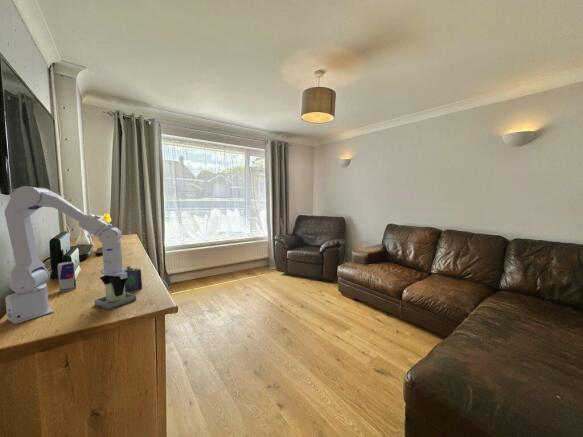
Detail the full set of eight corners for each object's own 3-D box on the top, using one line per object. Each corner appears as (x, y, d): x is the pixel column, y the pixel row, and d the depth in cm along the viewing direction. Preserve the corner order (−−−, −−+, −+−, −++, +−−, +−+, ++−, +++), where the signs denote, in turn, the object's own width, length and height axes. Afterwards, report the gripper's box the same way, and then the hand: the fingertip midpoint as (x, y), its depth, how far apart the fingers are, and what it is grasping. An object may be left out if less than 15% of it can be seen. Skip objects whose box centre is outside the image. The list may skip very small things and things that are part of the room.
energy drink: (72, 290, 104) (70, 264, 103) (57, 292, 102) (54, 265, 101) (78, 286, 109) (76, 261, 108) (63, 288, 107) (61, 262, 106)
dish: (108, 310, 85) (107, 304, 85) (94, 305, 89) (94, 300, 89) (136, 300, 93) (136, 295, 93) (122, 295, 98) (122, 291, 98)
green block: (112, 302, 88) (111, 286, 88) (106, 299, 90) (105, 284, 90) (125, 297, 92) (124, 282, 92) (119, 295, 94) (118, 280, 94)
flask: (116, 292, 101) (114, 267, 101) (119, 290, 104) (117, 266, 103) (141, 289, 104) (140, 265, 104) (143, 287, 107) (141, 264, 106)
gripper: (134, 259, 90) (137, 293, 91) (114, 255, 97) (116, 287, 98) (114, 263, 84) (116, 300, 85) (93, 259, 91) (96, 294, 92)
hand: (115, 294), depth 91 cm, fingers closed on green block, 4 cm apart
